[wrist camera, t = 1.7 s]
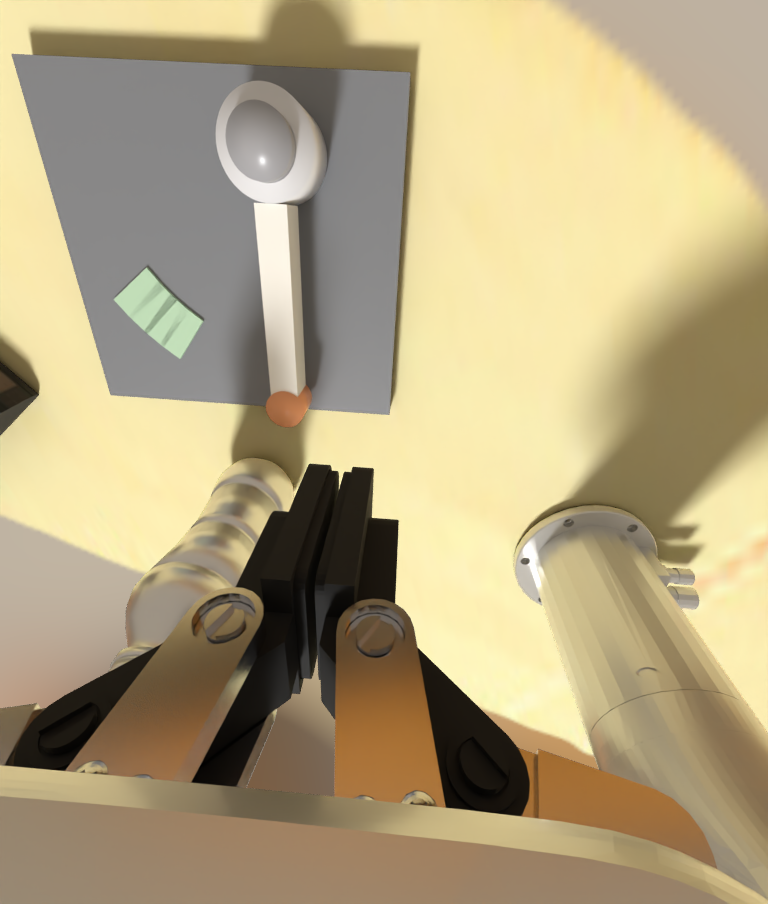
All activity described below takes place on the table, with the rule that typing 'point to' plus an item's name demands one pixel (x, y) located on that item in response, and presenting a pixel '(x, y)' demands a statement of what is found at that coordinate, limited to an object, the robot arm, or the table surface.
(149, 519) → the table surface
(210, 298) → the dial board
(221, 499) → the plastic bottle
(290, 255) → the white bar with knob
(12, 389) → the flat black box
